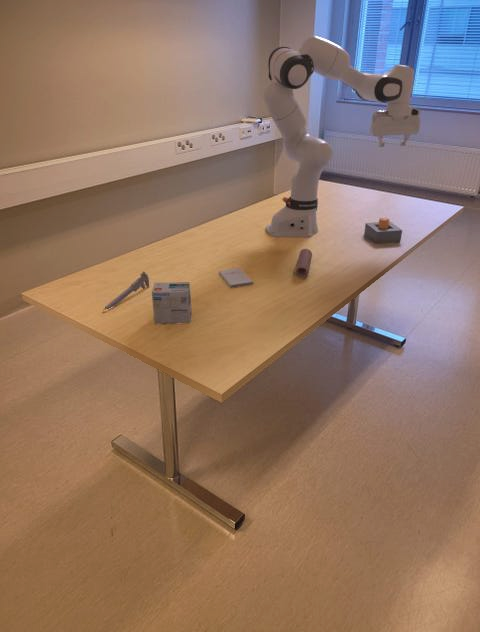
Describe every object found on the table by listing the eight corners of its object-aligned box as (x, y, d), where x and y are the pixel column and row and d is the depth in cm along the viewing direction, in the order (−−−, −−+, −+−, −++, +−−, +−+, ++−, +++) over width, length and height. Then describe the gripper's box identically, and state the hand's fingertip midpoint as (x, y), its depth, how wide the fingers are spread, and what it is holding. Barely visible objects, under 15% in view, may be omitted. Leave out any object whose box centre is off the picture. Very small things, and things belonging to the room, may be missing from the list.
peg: (379, 240, 208) (382, 221, 204) (375, 236, 212) (377, 218, 208) (388, 239, 209) (391, 220, 205) (383, 236, 213) (386, 217, 209)
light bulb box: (191, 313, 153) (190, 281, 148) (190, 324, 147) (189, 291, 142) (156, 313, 153) (153, 281, 147) (154, 324, 147) (151, 291, 142)
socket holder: (375, 243, 205) (377, 231, 202) (364, 234, 214) (365, 223, 212) (400, 241, 207) (402, 230, 204) (388, 232, 216) (389, 221, 214)
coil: (309, 268, 173) (313, 249, 188) (296, 265, 173) (301, 246, 189) (307, 280, 175) (311, 260, 190) (293, 277, 176) (298, 258, 191)
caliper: (147, 287, 169) (145, 269, 166) (149, 288, 169) (148, 270, 165) (102, 312, 154) (99, 293, 150) (105, 313, 153) (102, 294, 150)
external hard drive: (230, 289, 169) (218, 274, 179) (253, 285, 171) (240, 271, 181) (230, 285, 168) (218, 270, 178) (253, 281, 170) (240, 267, 181)
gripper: (376, 112, 195) (372, 148, 202) (424, 110, 199) (418, 147, 206) (369, 109, 201) (365, 145, 208) (416, 108, 205) (410, 144, 211)
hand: (392, 146), depth 207 cm, fingers open, 8 cm apart
